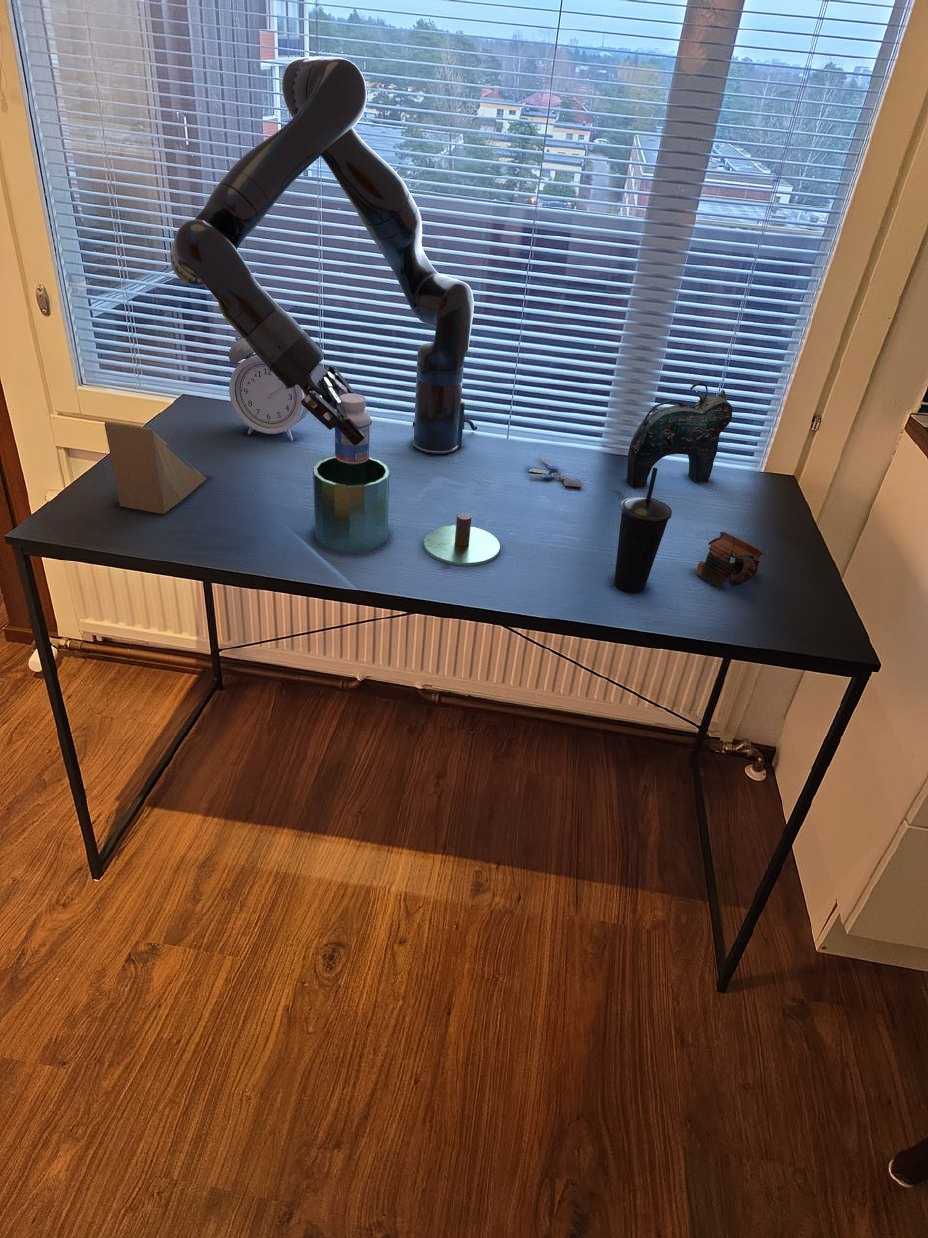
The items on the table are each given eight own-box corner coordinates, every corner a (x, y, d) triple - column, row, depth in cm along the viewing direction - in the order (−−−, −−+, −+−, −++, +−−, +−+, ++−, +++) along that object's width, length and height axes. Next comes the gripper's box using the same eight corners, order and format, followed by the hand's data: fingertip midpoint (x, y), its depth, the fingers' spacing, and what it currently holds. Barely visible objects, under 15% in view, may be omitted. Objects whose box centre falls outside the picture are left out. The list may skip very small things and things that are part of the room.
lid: (468, 525, 143) (471, 492, 140) (514, 556, 135) (519, 523, 132) (408, 542, 136) (409, 508, 133) (453, 576, 128) (456, 542, 125)
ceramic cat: (703, 471, 170) (728, 376, 159) (721, 485, 165) (747, 387, 154) (618, 478, 164) (638, 379, 153) (633, 492, 159) (655, 391, 148)
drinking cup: (658, 581, 132) (686, 465, 121) (646, 603, 126) (675, 484, 115) (612, 568, 134) (636, 453, 123) (599, 589, 128) (622, 471, 117)
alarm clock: (228, 434, 167) (218, 324, 155) (244, 420, 175) (236, 313, 162) (306, 445, 166) (302, 335, 154) (319, 430, 173) (317, 323, 161)
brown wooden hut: (681, 566, 137) (707, 522, 136) (724, 588, 141) (749, 546, 139) (718, 588, 126) (746, 540, 125) (763, 611, 130) (791, 565, 128)
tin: (363, 514, 143) (363, 449, 136) (400, 543, 136) (403, 476, 129) (302, 530, 137) (300, 463, 130) (338, 561, 129) (337, 492, 123)
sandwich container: (208, 478, 150) (200, 398, 142) (165, 514, 138) (152, 429, 129) (165, 470, 152) (154, 391, 143) (118, 505, 139) (103, 421, 131)
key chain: (587, 486, 160) (588, 482, 159) (554, 494, 155) (555, 490, 155) (542, 459, 169) (542, 456, 168) (510, 466, 165) (511, 463, 164)
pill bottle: (337, 449, 131) (337, 389, 126) (371, 452, 131) (372, 392, 126) (332, 463, 127) (331, 401, 121) (367, 466, 127) (368, 405, 121)
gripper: (289, 344, 113) (373, 437, 119) (313, 318, 125) (389, 403, 131) (253, 378, 116) (337, 466, 122) (280, 349, 128) (356, 431, 134)
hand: (363, 433), depth 127 cm, fingers closed on pill bottle, 5 cm apart
